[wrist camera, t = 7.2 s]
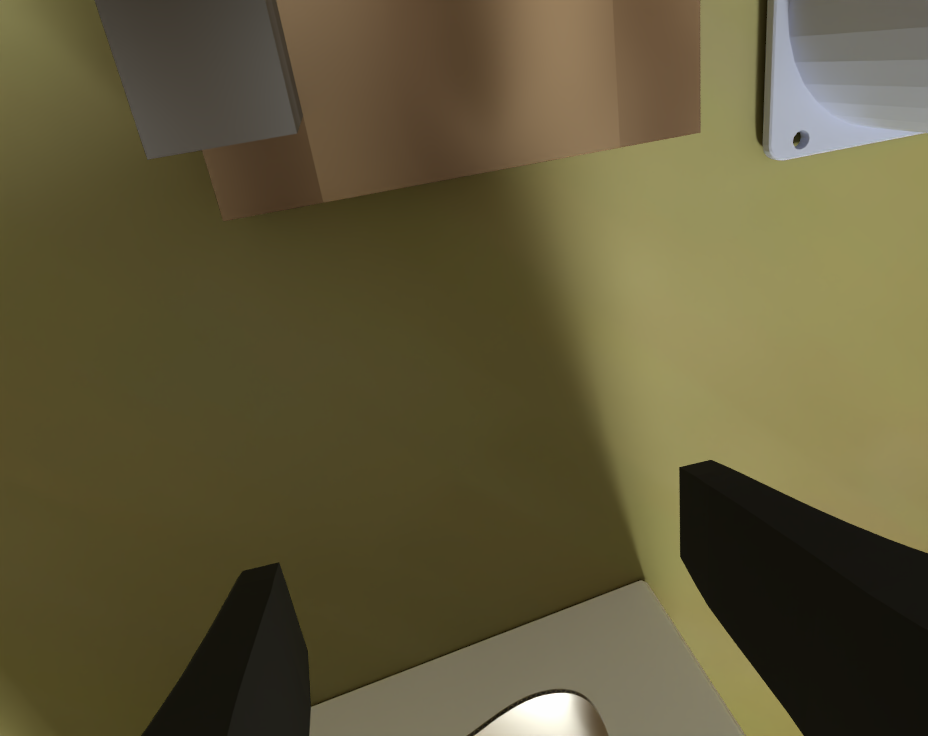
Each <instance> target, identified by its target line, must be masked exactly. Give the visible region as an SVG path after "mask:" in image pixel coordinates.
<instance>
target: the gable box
mask: <svg viewBox="0 0 928 736" xmlns="http://www.w3.org/2000/svg"><path fill="white" fill-rule="evenodd" d="M309 736H746V735H745V734H744V732H743V731H742V729H741V727H740V726H739V724H738V723H737V721H736V720H735V718H734V717H733V715H732V713H731V712H730V710H729V709H728V707H727V706H726V704H725V703H724V701H723V699H722V698H721V696H720V695H719V693H718V692H717V690H716V689H715V687H714V685H713V684H712V682H711V681H710V679H709V678H708V676H707V675H706V673H705V671H704V670H703V668H702V667H701V665H700V664H699V662H698V661H697V659H696V657H695V656H694V654H693V653H692V651H691V650H690V648H689V647H688V645H687V643H686V642H685V640H684V639H683V637H682V636H681V634H680V633H679V631H678V630H677V628H676V626H675V625H674V623H673V622H672V620H671V619H670V617H669V616H668V614H667V612H666V611H665V609H664V608H663V606H662V605H661V603H660V602H659V600H658V598H657V597H656V595H655V594H654V592H653V591H652V589H651V588H650V586H649V584H648V583H647V582H645V581H642V580H640V581H637V582H635V583H632V584H629V585H627V586H624V587H622V588H619V589H616V590H614V591H611V592H609V593H606V594H603V595H601V596H598V597H596V598H593V599H590V600H588V601H585V602H583V603H580V604H577V605H575V606H572V607H570V608H567V609H564V610H562V611H559V612H557V613H554V614H551V615H549V616H546V617H544V618H541V619H538V620H536V621H533V622H531V623H528V624H525V625H523V626H520V627H518V628H515V629H512V630H510V631H507V632H505V633H502V634H499V635H497V636H494V637H492V638H489V639H486V640H484V641H481V642H479V643H476V644H473V645H471V646H468V647H466V648H463V649H460V650H458V651H455V652H453V653H450V654H447V655H445V656H442V657H440V658H437V659H434V660H432V661H429V662H427V663H424V664H421V665H419V666H416V667H414V668H411V669H408V670H406V671H403V672H401V673H398V674H395V675H393V676H390V677H388V678H385V679H382V680H380V681H377V682H375V683H372V684H369V685H367V686H364V687H362V688H359V689H356V690H354V691H351V692H349V693H346V694H343V695H341V696H338V697H336V698H333V699H330V700H328V701H325V702H323V703H320V704H317V705H315V706H312V707H311V716H310V733H309Z"/></svg>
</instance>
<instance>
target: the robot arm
mask: <svg viewBox="0 0 928 736" xmlns="http://www.w3.org/2000/svg"><path fill="white" fill-rule="evenodd" d="M797 132H800V134H801V139H800V142H799V143H798V145H797V146H795V147H794V145H793V139H794V136H795V135H796V134H797ZM922 133H928V0H768V2H767V32H766V61H765V91H764V121H763V150H764V153H765V154H766V156H767V157H769V158H771V159H775V160H788V159H793V158H798V157H803V156H808V155H813V154H819V153H824V152H829V151H834V150H839V149H844V148H849V147H855V146H860V145H865V144H870V143H875V142H880V141H886V140H891V139H896V138H901V137H906V136H911V135H916V134H922ZM679 471H680V557H681V559H682V561H683V563H684V564H685V566H686V568H687V570H688V572H689V574H690V575H691V577H692V579H693V581H694V583H695V584H696V586H697V588H698V590H699V591H700V593H701V595H702V596H703V598H704V600H705V602H706V603H707V605H708V606H709V608H710V609H711V611H712V612H713V613H714V615H715V616H716V617H717V619H718V620H719V622H720V623H721V624H722V626H723V627H724V628H725V630H726V631H727V632H728V634H729V635H730V636H731V638H732V639H733V640H734V642H735V643H736V644H737V646H738V647H739V648H740V650H741V651H742V652H743V654H744V655H745V656H746V658H747V659H748V660H749V662H750V663H751V664H752V666H753V667H754V668H755V670H756V671H757V672H758V674H759V675H760V676H761V678H762V679H763V680H764V682H765V683H766V684H767V686H768V687H769V688H770V690H771V691H772V692H773V694H774V695H775V696H776V698H777V699H778V700H779V701H780V703H781V704H782V705H783V707H784V708H785V709H786V711H787V712H788V714H789V715H790V717H791V718H792V719H793V721H794V722H795V724H796V725H797V727H798V728H799V730H800V731H801V732H802V734H803V735H804V736H928V553H925V552H922V551H919V550H916V549H913V548H911V547H908V546H905V545H902V544H900V543H897V542H894V541H892V540H889V539H886V538H884V537H882V536H879V535H877V534H874V533H872V532H869V531H867V530H864V529H862V528H859V527H857V526H854V525H852V524H850V523H847V522H845V521H843V520H840V519H838V518H836V517H833V516H831V515H829V514H827V513H824V512H822V511H820V510H818V509H815V508H813V507H811V506H809V505H807V504H805V503H802V502H800V501H798V500H796V499H794V498H792V497H790V496H788V495H785V494H783V493H781V492H779V491H777V490H775V489H773V488H771V487H769V486H767V485H765V484H762V483H760V482H758V481H756V480H754V479H752V478H750V477H748V476H746V475H744V474H742V473H740V472H737V471H735V470H733V469H731V468H729V467H727V466H724V465H722V464H720V463H717V462H715V461H713V460H708V461H704V462H700V463H696V464H691V465H687V466H683V467H679ZM310 716H311V702H310V680H309V663H308V650H307V647H306V644H305V641H304V638H303V635H302V632H301V629H300V626H299V622H298V619H297V616H296V613H295V610H294V607H293V604H292V601H291V598H290V594H289V591H288V588H287V585H286V582H285V579H284V576H283V573H282V570H281V566H280V563H275V564H270V565H266V566H262V567H258V568H254V569H249V570H245V571H243V572H242V573H241V574H240V576H239V577H238V579H237V580H236V582H235V584H234V586H233V588H232V589H231V591H230V593H229V595H228V597H227V599H226V600H225V602H224V604H223V606H222V608H221V610H220V611H219V613H218V615H217V617H216V619H215V620H214V622H213V624H212V626H211V627H210V629H209V631H208V633H207V634H206V636H205V638H204V639H203V641H202V643H201V644H200V646H199V648H198V649H197V651H196V653H195V654H194V656H193V658H192V659H191V661H190V663H189V664H188V666H187V668H186V669H185V671H184V673H183V674H182V676H181V677H180V679H179V681H178V682H177V684H176V685H175V687H174V688H173V690H172V691H171V693H170V694H169V696H168V697H167V699H166V700H165V702H164V703H163V705H162V706H161V708H160V709H159V711H158V712H157V713H156V715H155V716H154V718H153V719H152V721H151V722H150V724H149V725H148V727H147V728H146V730H145V731H144V733H143V734H142V735H141V736H309V733H310Z"/></svg>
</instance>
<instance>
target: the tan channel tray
mask: <svg viewBox="0 0 928 736" xmlns="http://www.w3.org/2000/svg"><path fill="white" fill-rule="evenodd" d="M95 3H96V6H97V9H98V12H99V15H100V18H101V21H102V24H103V27H104V30H105V33H106V36H107V39H108V42H109V45H110V48H111V51H112V54H113V57H114V60H115V63H116V66H117V69H118V72H119V75H120V78H121V81H122V84H123V87H124V90H125V93H126V96H127V99H128V102H129V105H130V108H131V111H132V114H133V117H134V120H135V123H136V127H137V130H138V133H139V136H140V139H141V142H142V145H143V148H144V151H145V154H146V157H147V160H148V159H154V158H160V157H165V156H171V155H177V154H183V153H188V152H194V151H200V150H202V152H203V155H204V159H205V162H206V165H207V169H208V172H209V175H210V179H211V182H212V185H213V189H214V192H215V196H216V199H217V202H218V206H219V209H220V212H221V216H222V219H223V221H228V220H233V219H239V218H244V217H249V216H255V215H260V214H266V213H271V212H276V211H282V210H287V209H292V208H298V207H303V206H308V205H314V204H319V203H325V202H330V201H335V200H341V199H346V198H351V197H357V196H362V195H368V194H373V193H378V192H384V191H389V190H394V189H400V188H405V187H411V186H416V185H421V184H427V183H432V182H437V181H443V180H448V179H453V178H459V177H464V176H470V175H475V174H480V173H486V172H491V171H496V170H502V169H507V168H513V167H518V166H523V165H529V164H534V163H539V162H545V161H550V160H556V159H561V158H566V157H572V156H577V155H582V154H588V153H593V152H599V151H604V150H609V149H615V148H620V147H625V146H631V145H636V144H641V143H647V142H652V141H658V140H663V139H668V138H674V137H679V136H684V135H690V134H695V133H700V0H95Z"/></svg>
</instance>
